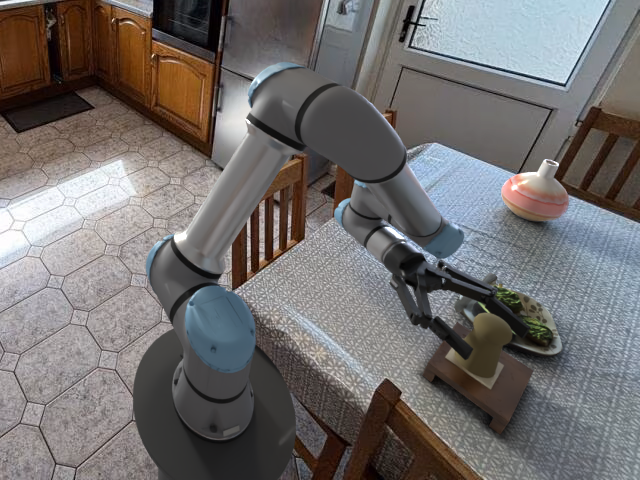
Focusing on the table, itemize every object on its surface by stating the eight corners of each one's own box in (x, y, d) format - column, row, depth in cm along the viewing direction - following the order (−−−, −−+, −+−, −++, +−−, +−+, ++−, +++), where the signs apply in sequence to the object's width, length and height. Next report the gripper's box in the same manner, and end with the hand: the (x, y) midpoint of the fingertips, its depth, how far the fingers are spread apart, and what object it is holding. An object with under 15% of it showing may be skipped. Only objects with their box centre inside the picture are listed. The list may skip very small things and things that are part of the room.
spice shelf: (421, 375, 79) (428, 361, 77) (451, 334, 86) (457, 321, 84) (500, 434, 70) (509, 421, 68) (525, 383, 77) (534, 369, 75)
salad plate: (448, 264, 102) (454, 250, 100) (544, 297, 93) (553, 283, 91) (451, 325, 88) (458, 310, 86) (566, 372, 79) (576, 356, 77)
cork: (462, 372, 75) (483, 333, 70) (449, 341, 80) (468, 303, 75) (501, 382, 73) (526, 342, 69) (486, 350, 78) (508, 311, 74)
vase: (570, 235, 110) (601, 182, 103) (508, 224, 114) (534, 172, 107) (541, 203, 122) (567, 153, 114) (486, 194, 126) (508, 145, 118)
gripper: (434, 253, 95) (540, 337, 77) (345, 279, 89) (436, 377, 70) (444, 228, 92) (557, 310, 73) (353, 254, 86) (450, 350, 67)
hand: (498, 343), depth 72 cm, fingers open, 13 cm apart
